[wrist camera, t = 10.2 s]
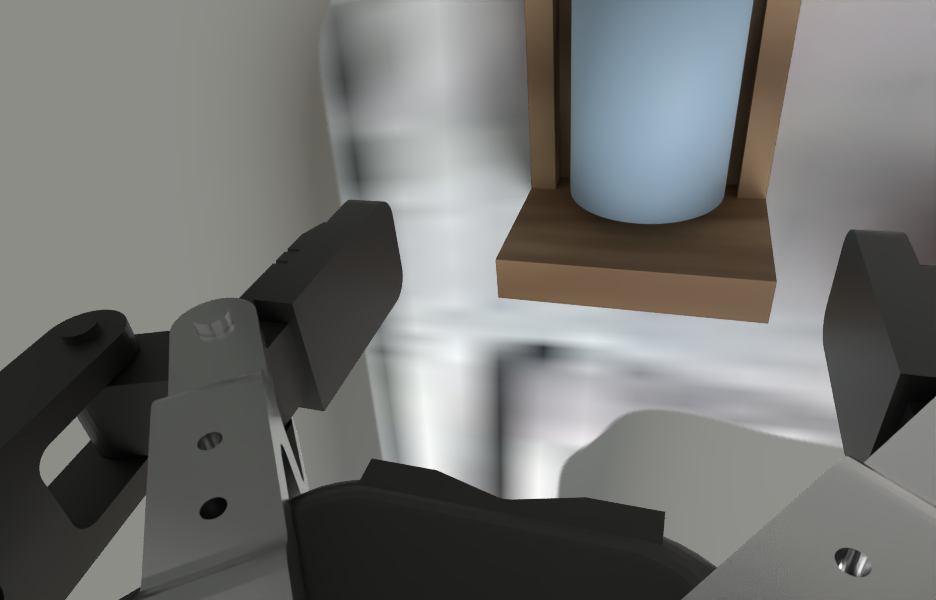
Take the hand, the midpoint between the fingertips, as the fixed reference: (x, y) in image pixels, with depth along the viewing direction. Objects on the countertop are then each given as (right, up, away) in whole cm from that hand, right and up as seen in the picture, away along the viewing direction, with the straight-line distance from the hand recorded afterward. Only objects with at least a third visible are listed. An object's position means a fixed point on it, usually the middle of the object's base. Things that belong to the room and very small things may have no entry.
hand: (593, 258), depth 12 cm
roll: (+4, +7, +10) cm, 13 cm away
